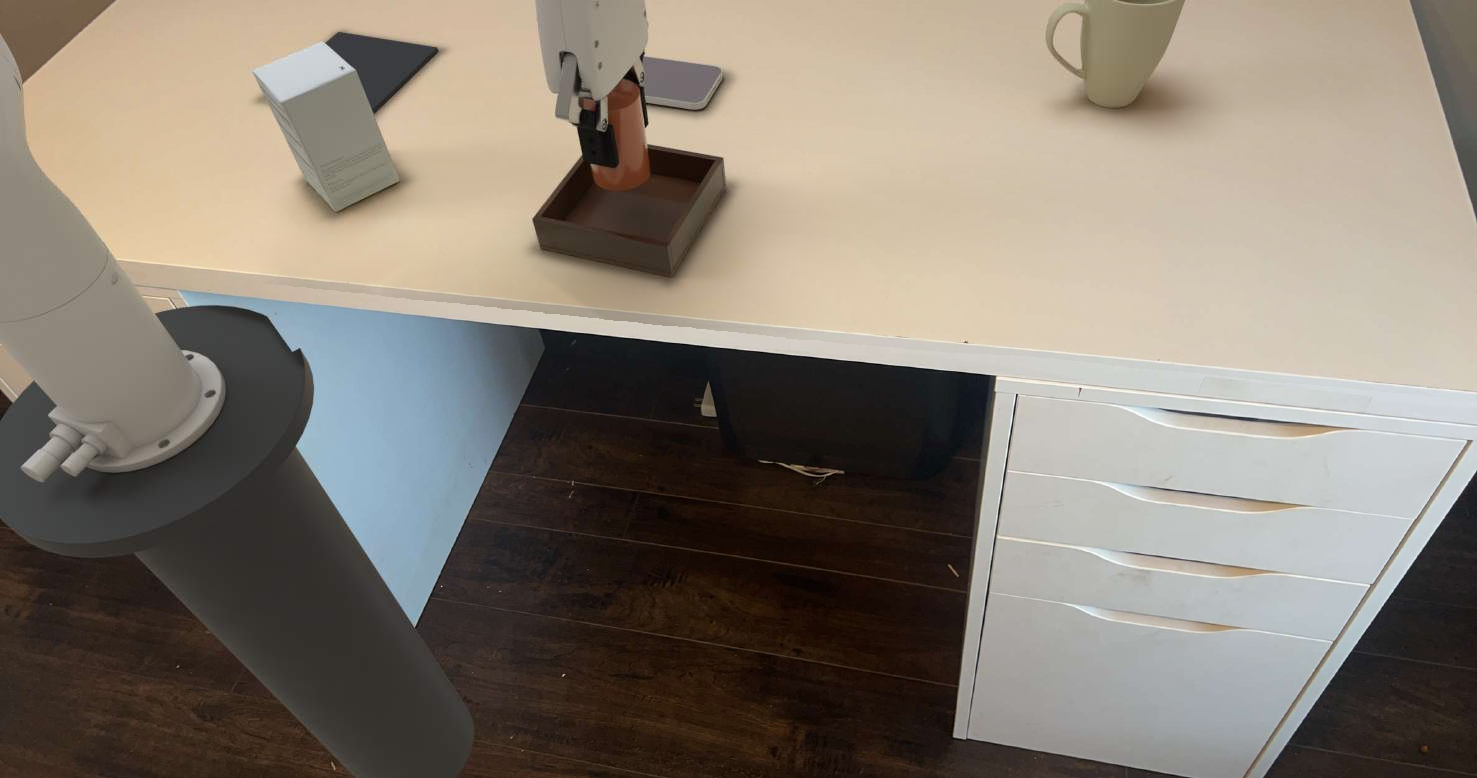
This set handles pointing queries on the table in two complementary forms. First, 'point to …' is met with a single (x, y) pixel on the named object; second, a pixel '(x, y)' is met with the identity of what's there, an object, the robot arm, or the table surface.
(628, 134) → the glossy orange cylinder
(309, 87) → the white packaging box
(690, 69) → the smartphone
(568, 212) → the tray
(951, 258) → the table surface
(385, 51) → the mat
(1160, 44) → the mug
